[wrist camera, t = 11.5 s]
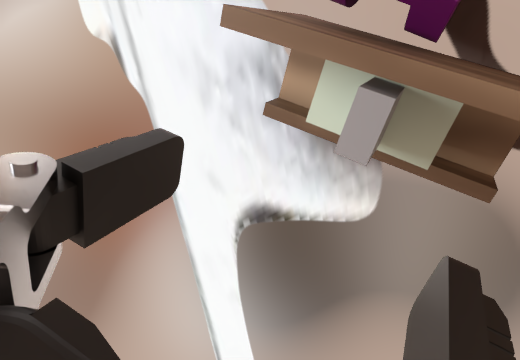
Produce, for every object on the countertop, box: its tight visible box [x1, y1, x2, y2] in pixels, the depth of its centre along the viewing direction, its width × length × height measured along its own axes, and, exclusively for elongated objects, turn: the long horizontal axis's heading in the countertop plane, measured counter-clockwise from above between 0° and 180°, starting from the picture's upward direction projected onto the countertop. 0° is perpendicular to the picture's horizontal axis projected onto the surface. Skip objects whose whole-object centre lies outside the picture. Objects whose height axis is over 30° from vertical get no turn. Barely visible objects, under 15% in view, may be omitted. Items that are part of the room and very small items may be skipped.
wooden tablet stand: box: [220, 4, 520, 203], centre depth 25 cm, size 9×20×14 cm, turn 75°
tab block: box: [306, 60, 464, 170], centre depth 25 cm, size 5×9×13 cm, turn 75°
